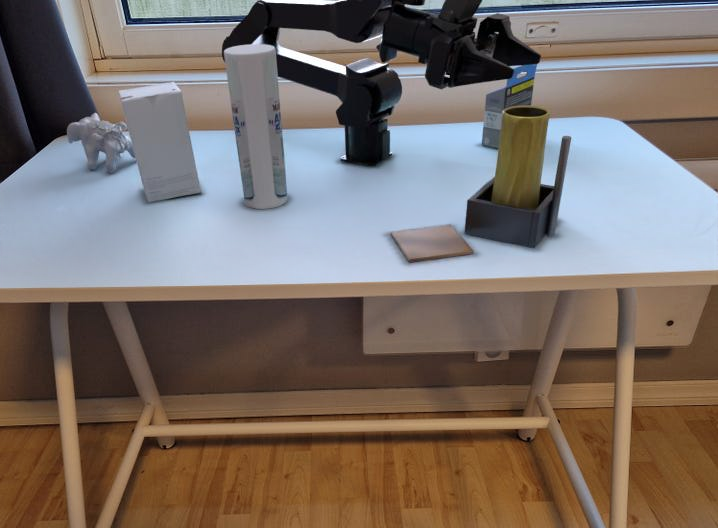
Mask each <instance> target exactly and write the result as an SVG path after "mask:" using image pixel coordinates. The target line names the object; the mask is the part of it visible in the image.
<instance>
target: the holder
mask: <svg viewBox="0 0 718 528" xmlns="http://www.w3.org/2000/svg"><path fill="white" fill-rule="evenodd" d="M571 142H572V136H571V135H562V137H561V142H560V148H559V154H558V160H557V167H556V172H555V178H554V185H550V184H543V183H541V185H540V193H539V203H538V208H537V209H536V210H534V209H529V208H523V207H518V206H512V205H507V204H501V203H496V202H491V199H492V192H493V186H494V179H495V175H494V176H493V177H491V179H489V180H488V181H487V182H486V183H485V184H483V186H481V187H480V188H479V189H478V190H476V192H475V193H473V194H472V195H471V196H470V197H469V198H467V200H466V211H465V220H464V221H465V222H464V235H468V236H473V237H477V238H478V237H479V238H482V239H486V240H493V241H498V242H502V243H506V244H512V245H516V246H521V247H526V248H531V249H536V247H537V246H538V245H539V243H540V242H541V241H542V240H543V239H544V238H545V236H547V237H551V238H552V237H554V236H555V234H556V229H557V222H558V219H559V218H558V217H559V212H560V207H561V200H562V196H563V195H562V194H563V188H564V182H565V179H566V178H565V177H566V171H567V167H568V166H567V165H568V161H569V160H568V159H569V154H570V148H571Z"/></svg>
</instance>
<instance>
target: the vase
mask: <svg viewBox="0 0 718 528" xmlns="http://www.w3.org/2000/svg"><path fill="white" fill-rule="evenodd" d="M550 114H551V111H550V110H549V109H547V108H546V107H542V106H538V105H531V106H526V105H522V106H512V107H508V108H505V109H504V110H503V113H502V122H501V131H500V140H499V149H497V158H496V165H495V173H494V176H495V179H494V186H493V192H492V199H491V202H496V203H501V204H507V205H512V206H518V207H523V208H529V209H534V210H536V209H537V208H538V203H539V193H540V185H541V184H542V176H543V175H542V174H543V169H544V159H545V153H546V142H547V135H548V129H549V128H548V127H549V122H550Z"/></svg>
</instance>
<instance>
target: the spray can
mask: <svg viewBox="0 0 718 528" xmlns="http://www.w3.org/2000/svg"><path fill="white" fill-rule="evenodd" d="M224 57H225V62H224V64H225V65H224V66H225V71H226V79H227V85H228V91H229V99H230V106H231V113H232V121H233V122H232V123H233V129H234V135H235V143H236V150H237V151H236V152H237V157H238V163H239V164H238V165H239V172H240V179H241V187H242V193H243V199H244V203H245V205H246V206H247V207H249V208H252V209H257V210H269V209H274V208H277V207H280V206H283V205H284V204H285V203H286V202H287V201H288V186H287V184H288V183H287V173H286V162H285V147H284V138H283V136H284V135H283V124H282V113H281V101H280V100H281V99H280V88H279V77H278V74H277V62H276V50H275V47H274V46H271V45H264V44H250V45H240V46H234V47H230V48H227V49H225V50H224Z"/></svg>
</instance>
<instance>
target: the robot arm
mask: <svg viewBox="0 0 718 528" xmlns="http://www.w3.org/2000/svg"><path fill="white" fill-rule="evenodd" d="M482 2H483V0H444V2H443V4H442V7H441V9H440V12H439V13H432V12H429V11H426V10H423V9H422V10H421V9H419V8H415V7H421V6H425V3H426V0H257V1H256V2H254V4H252V7H251V8H250V10H249V11H248V13H247V15H245V17H244V18H243V19H241V21H240V22H239V23H238V24H237V25H236V26H235V27H233V29H232V31H231V32H230V34H229V35H228V36H226V37H225V39H223V42H222V44H221V57H222V60H223V63H225V57H224V50H225V49H227V48H230V47H234V46H240V45H250V44H264V45H271V46H274V47H275V50H276V62H277V74H278V78H280V79H284V80H286V81H289V82H292V83H294V84H295V83H296V84H299V85H301V86H305V87H307V88H311V89H314V90H317V91H320V92H323V93H325V94H329V95H332V96H335V97H337V98H338V99H339V101H340V102H341V104H340V105H339V107H337V109H336V110H335V115H336V118H337V121H338V124H339V125H340V126H344V148H345V149H344V150H345V154H343V155H342V156H341V157H340V158H339V159H340V161H341V162H344V163H351V164H356V165H363V166H369V167H376V166H377V165H379V164H380V163H382V162H384V161H385V160H387V159H388V158H390V157H392V156H393V152H392V151H391V130H390V129H388V128H389V125H388V124H389V119H388V118H387V117H389V116H392V115H393V112H394V109H395V106H396V105H397V104H399V102H400V100H401V98H402V95H403V85H402V81H401V79H400V77H399V73H397V71H396V70H394V69H391V68H389V66H390V64H389V63H388V62H390V61H393V60H396V59H397V58H398V53H399V52H400V53H403V54H406V55H409V56H413V57H416V58H418V60H417V63H419V64H422V65H426V68H425V73H424V78H425V80H426V82H427V85H428V86H430V87H432V88H436V89H439V90H444V89H446V88H449V89H453V88H457V87H462V86H463V87H464V86H468V85H475V84H484V83H490V82H497V81H498V82H499V81H504V80H507V79H511V78H512V77H513V74H514V68H513V67H519V66H522V65H532V64H537V65H538V64H540V62H541V59H542V55H541V53H539V52H538V51H536V50H534V49H533V48H532V47H531V46H529V45H528V44H526V43H525V42H523V41H521V40H520V39H519V38H518V37H516V36H515V35H514V34H513V30H512V22H511V19H510V16H509V15H506V14H503V13H499V12H497V13H493V14H491V15H489V16H487V17H485V18H484V19H482V20H481V21H480V22H479V26H478V29H477V34H476V32H475V31H474V30H475V29H476V27H477V23H478V20H479V19H478V17H474V16H475V14H476V13H477V11H478V9H479V7H480V6H481V4H482ZM411 6H414V7H411ZM281 29H287V30H289V29H290V30H303V31H305V30H306V31H318V32H319V31H320V32H327V33H330V34H332V35H334V37H335V38H337V39H340V40H345V41H347V42H350V43H354V44H361V43H364V42H367V41H371V40H374V39H376V38H380V37H381V40H380V42H379V43H378V44H377V45H376V46H375V49H376V50H377V52H378V57H379V58H380V61H381V63H380V62H378V61H375V60H374V59H371V58H368V57H367V58H363V59H359V60H358V61H355V62H351V63H349V64H345V65H342V64H339V63H336V62H332V61H328V60H325V59H323V58H319V57H315V56H312V55H309V54H306V53H302V52H299V51H296V50H292V49H289V48H286V47H283V46H281V45H280V44H279V43H278V41H279V39H280V33H281ZM448 76H449V77H448Z"/></svg>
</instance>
